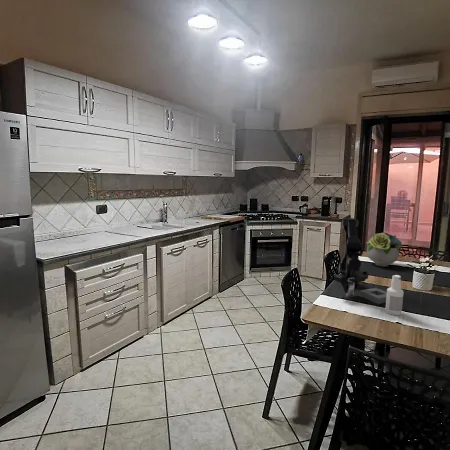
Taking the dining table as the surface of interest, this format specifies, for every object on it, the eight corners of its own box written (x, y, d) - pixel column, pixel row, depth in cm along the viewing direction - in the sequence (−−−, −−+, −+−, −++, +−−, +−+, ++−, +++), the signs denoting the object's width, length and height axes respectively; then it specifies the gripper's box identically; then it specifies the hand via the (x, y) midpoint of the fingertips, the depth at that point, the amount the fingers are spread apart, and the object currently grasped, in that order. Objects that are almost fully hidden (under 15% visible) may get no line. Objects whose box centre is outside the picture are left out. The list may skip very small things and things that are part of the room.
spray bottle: (395, 316, 143) (399, 278, 140) (382, 311, 149) (385, 274, 146) (404, 313, 146) (408, 276, 144) (391, 308, 152) (394, 273, 150)
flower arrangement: (367, 259, 247) (369, 229, 244) (402, 264, 233) (406, 232, 229) (359, 266, 227) (362, 233, 224) (398, 272, 213) (401, 237, 209)
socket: (359, 295, 168) (359, 290, 168) (375, 292, 173) (375, 287, 173) (378, 304, 157) (378, 298, 157) (394, 300, 162) (395, 295, 162)
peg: (344, 295, 169) (345, 281, 168) (349, 294, 171) (350, 280, 170) (349, 297, 166) (350, 283, 164) (355, 296, 167) (356, 282, 166)
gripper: (350, 270, 155) (348, 300, 157) (377, 266, 162) (374, 295, 164) (334, 264, 165) (332, 292, 167) (360, 261, 172) (358, 288, 174)
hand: (349, 292), depth 168 cm, fingers open, 5 cm apart
